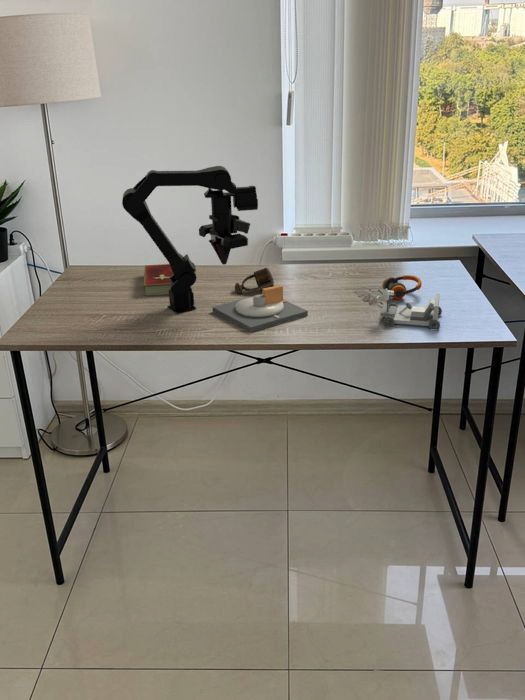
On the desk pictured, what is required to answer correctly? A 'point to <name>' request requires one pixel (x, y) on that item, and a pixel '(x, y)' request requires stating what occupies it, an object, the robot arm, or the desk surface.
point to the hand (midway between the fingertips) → (224, 264)
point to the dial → (262, 303)
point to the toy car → (410, 312)
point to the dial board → (259, 323)
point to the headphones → (394, 287)
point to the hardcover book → (157, 279)
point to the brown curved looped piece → (257, 281)
